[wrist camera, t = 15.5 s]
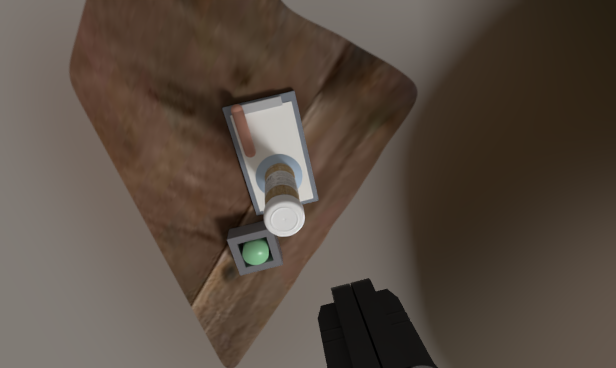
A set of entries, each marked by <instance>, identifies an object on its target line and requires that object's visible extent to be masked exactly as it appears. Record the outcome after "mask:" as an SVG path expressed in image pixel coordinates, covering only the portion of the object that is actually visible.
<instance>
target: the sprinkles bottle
mask: <svg viewBox="0 0 616 368" xmlns="http://www.w3.org/2000/svg"><path fill="white" fill-rule="evenodd" d="M304 220H305V214H304V209H303V206H302V204H301V202H300V199H299V193H298V188H297V184H296V180H295V175H294V172H293V170H292V168H291V167H289V166H288V165H286V164H283V163H277V164H274V165H272V166H270V167H269V168H268V169H267V171H266V173H265V208H264V224H265V226H266V228H267V229H268V230H269V231H270V232H271V233H273V234H274V235H277V236H290V235H293V234H295V233H296V232H298V231H299V230H300V229H301V227H302V226H303V224H304Z"/></svg>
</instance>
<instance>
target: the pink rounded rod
mask: <svg viewBox="0 0 616 368" xmlns="http://www.w3.org/2000/svg"><path fill="white" fill-rule="evenodd" d="M231 113H232V116H233V119H234V122H235V126H236V129H237V132H238V135H239V138H240V141H241V144H242V147H243V150H244V153H245V155H246V156H247V157H249V158H251V157H254V156H255V154H256V150H255V147H254V143H253V140H252V137H251V133H250V130H249V127H248V124H247V120H246V117H245V114H244V110H243V108H242V106H241V105H239V104H235V105H233V106H232V107H231Z"/></svg>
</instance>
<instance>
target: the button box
mask: <svg viewBox="0 0 616 368" xmlns="http://www.w3.org/2000/svg"><path fill="white" fill-rule="evenodd" d="M263 237H267V241H268V244H269V247H270V251H269V256H268V258H267V260H266V261H265V262H264V263H262V264H259V265H252V264H249V263H247V262H246V261H245V260H244V258H243V245H242V243H244V242H248V241H252V240H256V239H259V238H263ZM227 241H228V244H229V247H230V249H231V252H232V255H233V257H234V260H235V262H236V265H237V268H238V270H239V273H240V275H244V274H248V273H252V272H256V271H260V270H264V269H268V268H272V267H276V266H280V265H283V258H282V252H281V248H280V245H279V242H278V238H277V235H274V234H273V233H271V232H270V231H269V230H268V229H267V228H266V226H265V224H264V221H261V222H257V223H253V224H249V225H245V226H241V227H237V228H233V229H229V232H228V237H227Z"/></svg>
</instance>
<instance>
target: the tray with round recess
mask: <svg viewBox="0 0 616 368" xmlns="http://www.w3.org/2000/svg"><path fill="white" fill-rule="evenodd" d="M239 105H241V106H242V108H243V110H244V114H245V117H246V120H247V124H248V127H249V130H250V133H251V137H252V140H253V143H254V147H255V150H256V154H255V156H254V157H251V158H249V157H247V156H246V155H245V153H244V150H243V147H242V144H241V141H240V138H239V135H238V132H237V129H236V126H235V122H234V119H233V116H232V113H231V107H232V106H233V105H231V106H227V107H223V108H222V109H223V112H224V115H225V118H226V121H227V124H228V128H229V131H230V134H231V137H232V140H233V143H234V146H235V149H236V152H237V156H238V159H239V162H240V165H241V168H242V171H243V174H244V177H245V180H246V184H247V187H248V190H249V193H250V196H251V199H252V202H253V205H254V208H255V211H256V215H261V214H264V208H265V173H266V171H267V169H268V168H269V167H270V166H272V165H274V164H277V163H283V164H286V165H288V166H289V167H291V168H292V170H293V172H294V175H295V180H296V184H297V188H298V193H299V199H300V202H301V204H306V203H310V202H314V201H318V195H317V191H316V186H315V182H314V177H313V173H312V168H311V164H310V159H309V155H308V150H307V146H306V141H305V137H304V132H303V128H302V123H301V119H300V114H299V110H298V105H297V101H296V96H295V92H294V91H290V92H286V93H282V94H278V95H273V96H269V97H265V98H261V99H256V100H252V101H248V102H244V103H240V104H239Z"/></svg>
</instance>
